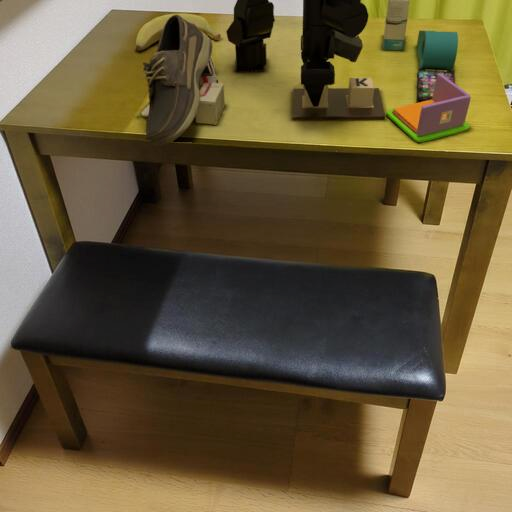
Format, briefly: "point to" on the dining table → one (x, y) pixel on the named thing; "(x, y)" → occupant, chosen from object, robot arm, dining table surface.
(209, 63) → the toy car
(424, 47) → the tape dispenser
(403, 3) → the ink box
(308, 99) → the tile
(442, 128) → the miniature room corner
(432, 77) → the smartphone
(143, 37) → the banana
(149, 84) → the boat shoe
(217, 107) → the small box
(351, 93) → the tile
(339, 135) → the dining table surface
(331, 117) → the word board
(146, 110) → the soap
